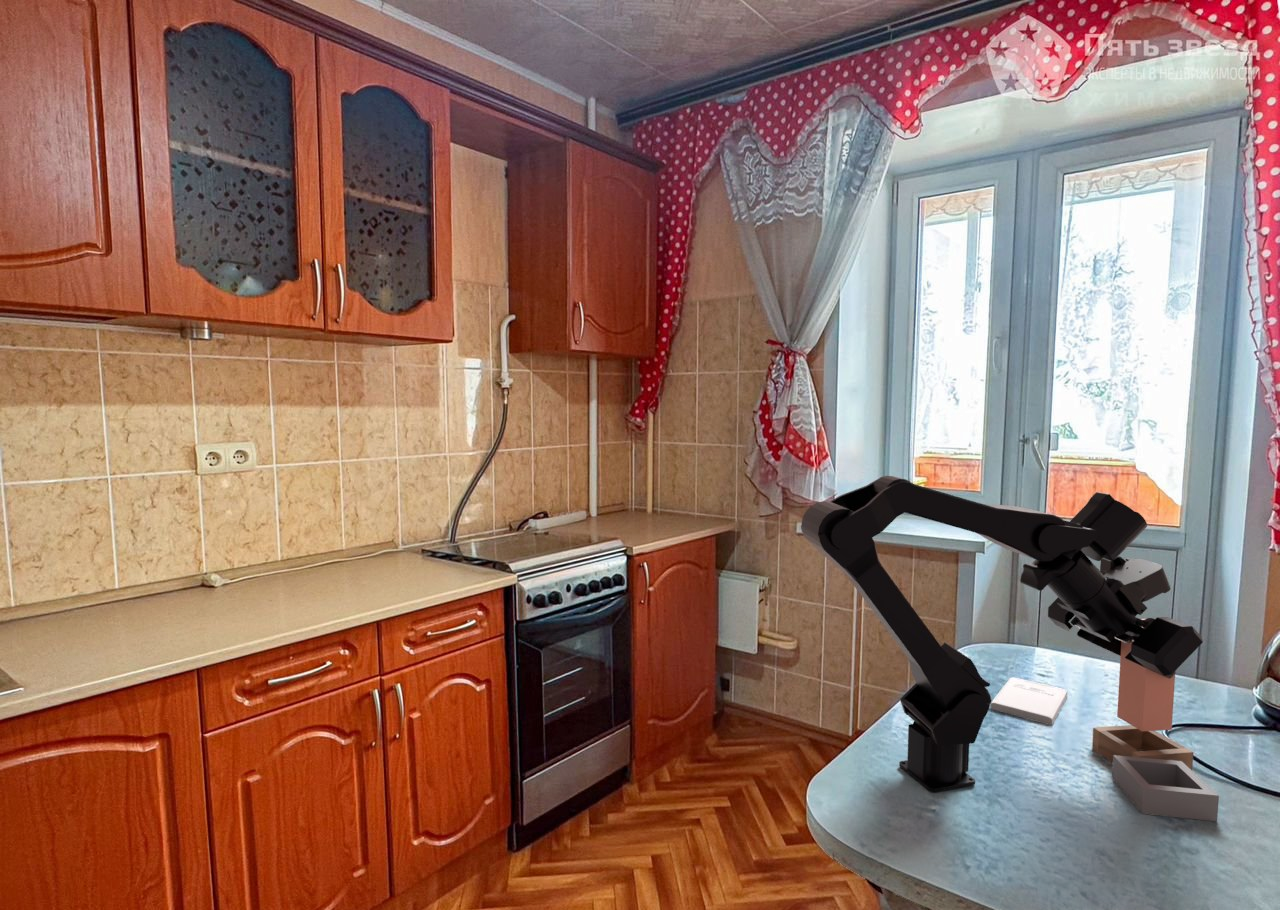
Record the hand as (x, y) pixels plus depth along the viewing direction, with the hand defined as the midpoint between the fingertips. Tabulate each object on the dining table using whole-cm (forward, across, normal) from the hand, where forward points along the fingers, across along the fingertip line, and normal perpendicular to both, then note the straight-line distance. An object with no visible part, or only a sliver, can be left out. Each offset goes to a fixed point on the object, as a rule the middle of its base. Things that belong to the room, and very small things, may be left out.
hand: (1157, 668), depth 88 cm
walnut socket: (+8, 0, +10) cm, 13 cm away
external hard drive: (+7, +18, +12) cm, 23 cm away
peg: (+4, 0, +6) cm, 7 cm away
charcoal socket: (+5, -7, +13) cm, 16 cm away
